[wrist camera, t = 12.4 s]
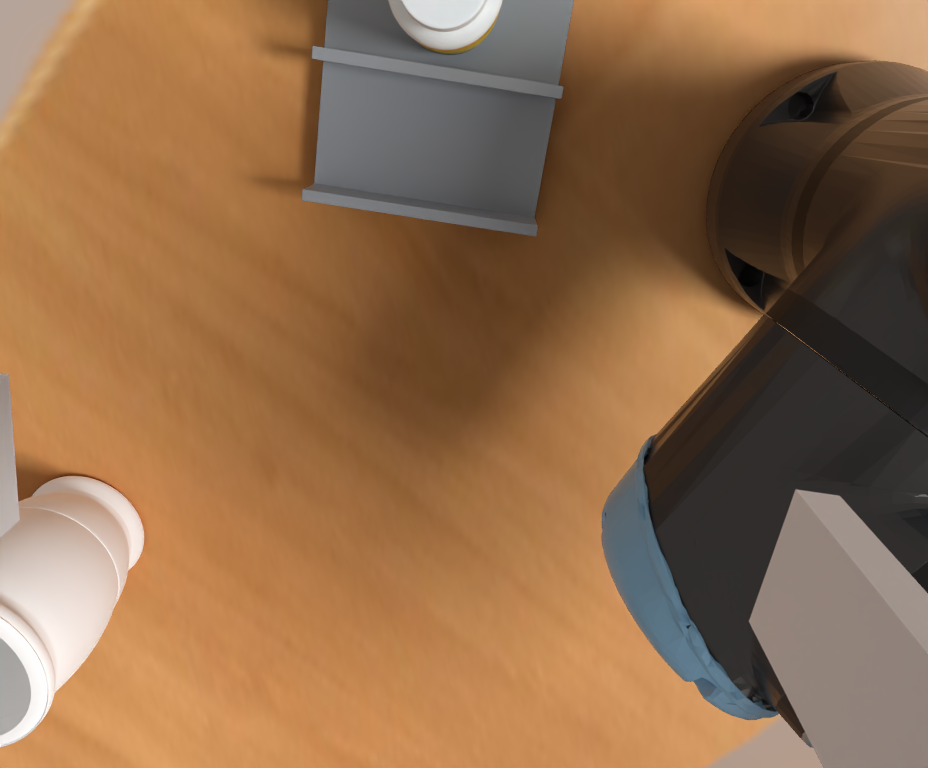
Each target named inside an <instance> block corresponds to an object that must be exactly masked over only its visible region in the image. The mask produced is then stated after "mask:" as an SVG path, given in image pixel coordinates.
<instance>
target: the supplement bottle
mask: <svg viewBox="0 0 928 768" xmlns="http://www.w3.org/2000/svg"><path fill="white" fill-rule="evenodd" d="M388 1H389V5H390V8H391V10H392V13H393V15H394V17H395V19H396V20H397V22H398V23H399V25H400V26H401V27H402V29H403V30H404V31H405V32H406V33H407V34H408V35H409V36H410V37H411V38H413V39H414V40H415V41H417V42H418V43H419V44H420V45H422V46H423V47H425V48H426V49H428V50H431V51H433V52H436V53H439V54H444V55H457V54H462V53H465V52H468V51H470V50H472V49H474V48H475V47H477V46H478V45H480V44H481V43H482V42H483V41H484V40H485V39H486V38H487V36H488V35H489V34H490V32H491V30H492V29H493V27H494V25H495V22H496V20H497V17H498V14H499V11H500V8H501V5H502V2H503V0H388Z"/></svg>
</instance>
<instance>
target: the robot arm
mask: <svg viewBox="0 0 928 768" xmlns="http://www.w3.org/2000/svg"><path fill="white" fill-rule="evenodd" d="M706 221H707V232H708V238H709V243H710V247H711V250H712V253H713V256H714V259H715V261H716V264H717V266H718V268H719V269H720V271H721V273H722V275H723V276H724V278H725V279H726V281H727V282H728V283H729V285H730V286H731V287H732V288H733V289H734V291H735V292H736V293H737V294H738V295H739V296H741V297H742V298H743V299H744V300H745V301H746V302H748V303H749V304H750V305H752V306H753V307H754V308H756V309H757V310H758V311H760V312H761V313H763V314H764V315H763V316H762V317H761V318H760V320H759V321H758V322H757V323H756V324H755V325H754V326H753V328H752V329H751V330H750V331H749V332H748V333H747V334H746V336H745V337H744V338H743V339H742V340H741V341H740V342H739V343H738V345H737V346H736V347H735V348H734V349H733V350H732V351H731V352H730V353H729V355H728V356H727V357H726V358H725V359H724V360H723V361H722V362H721V363H720V365H719V366H718V367H717V368H716V369H715V370H714V371H713V372H712V373H711V375H710V376H709V377H708V378H707V379H706V380H705V381H704V382H703V384H702V385H701V386H700V387H699V388H698V389H697V390H696V391H695V392H694V394H693V395H692V396H691V397H690V398H689V399H688V400H687V401H686V402H685V404H684V405H683V406H682V407H681V408H680V409H679V410H678V411H677V412H676V414H675V415H674V416H673V417H672V418H671V419H670V420H669V421H668V422H667V424H666V425H665V426H664V427H663V428H662V429H661V430H660V431H659V432H658V433H657V434H656V435H654V436H651V437H650V438H649V439H648V440H647V441H646V442H645V443H644V445H643V446H642V448H641V450H640V452H639V455H638V459H637V460H636V462H635V463H634V464H633V465H632V467H631V468H630V469H629V470H628V472H627V473H626V474H625V475H624V477H623V478H622V479H621V480H620V482H619V483H618V484H617V485H616V487H615V488H614V489H613V490H612V492H611V493H610V495H609V497H608V498H607V501H606V503H605V505H604V509H603V512H602V530H603V531H602V546H603V550H604V555H605V559H606V562H607V565H608V568H609V571H610V573H611V576H612V578H613V581H614V583H615V585H616V588H617V590H618V592H619V594H620V596H621V597H622V599H623V601H624V603H625V605H626V606H627V608H628V610H629V612H630V613H631V615H632V616H633V618H634V620H635V621H636V623H637V625H638V626H639V628H640V629H641V630H642V632H643V633H644V635H645V636H646V637H647V639H648V640H649V642H650V643H651V644H652V646H653V647H654V648H655V650H656V651H657V652H658V653H659V654H660V656H661V657H662V658H663V659H664V660H665V662H666V663H667V664H668V665H669V666H670V667H671V668H672V669H673V670H674V671H675V672H676V673H677V674H678V675H679V676H680V677H681V678H682V679H683V680H684V681H686V682H691V681H694V683H695V684H696V686H697V688H698V689H699V691H700V693H701V695H702V696H703V698H704V699H706V700H707V701H708V702H710V703H711V704H712V705H714V706H715V707H717V708H718V709H720V710H722V711H723V712H726V713H728V714H730V715H732V716H735V717H739V718H742V719H745V720H757V719H761V718H770V717H774V716H776V715H778V714H780V715H781V716H782V717H783V718H784V720H785V721H786V722H787V723H788V724H789V725H790V727H791V728H792V729H793V730H794V731H795V732H796V733H797V735H798V736H799V737H800V738H801V739H802V740H803V741H804V742H805V743H806V744H807V745H808V746H809V747H812V748H814V750H815V752H816V754H817V756H818V758H819V760H820V762H821V764H822V766H823V768H928V72H927V71H925V70H922V69H920V68H916V67H913V66H910V65H906V64H901V63H896V62H887V61H864V62H852V63H843V64H837V65H832V66H827V67H824V68H820V69H817V70H814V71H811V72H808V73H806V74H804V75H802V76H799V77H797V78H795V79H793V80H791V81H790V82H788V83H786V84H784V85H783V86H781V87H780V88H778V89H777V90H775V91H774V92H772V93H771V94H770V95H768V96H767V97H766V98H765V99H764V100H762V101H761V102H760V103H759V104H758V105H757V106H756V107H755V108H754V109H753V110H752V111H751V112H750V113H749V114H748V115H747V116H746V117H745V118H744V120H743V121H742V122H741V123H740V124H739V126H738V127H737V128H736V130H735V131H734V133H733V134H732V136H731V137H730V139H729V140H728V142H727V144H726V146H725V147H724V149H723V151H722V153H721V155H720V157H719V160H718V162H717V165H716V167H715V170H714V173H713V176H712V179H711V183H710V188H709V193H708V199H707V211H706ZM776 322H777V323H776ZM779 324H780V325H781V326H780V325H779ZM782 326H783V327H784V328H786V329H787V330H788V331H790V332H791V333H792V334H794V335H795V336H796V337H798V338H799V339H800V340H802V341H803V342H804V343H806V344H807V345H808V346H809V347H808V346H807V345H806V344H804V343H803V342H802V341H800V340H799V339H798V338H796V337H795V336H794V335H792V334H791V333H790V332H788V331H787V330H786V329H784V328H783V327H782ZM810 347H811V348H812V349H813V350H812V349H811V348H810ZM814 350H815V351H816V352H817V353H816V352H815V351H814ZM818 353H819V354H820V355H821V356H820V355H819V354H818ZM822 356H823V357H824V358H825V359H824V358H823V357H822ZM827 360H828V361H829V362H828V361H827ZM832 364H833V365H832ZM836 367H837V368H836ZM840 370H841V371H840ZM844 373H845V374H844ZM848 376H849V377H848ZM852 379H853V380H852ZM856 382H857V383H856ZM860 385H861V386H860ZM863 387H864V388H865V389H864V388H863ZM868 391H869V392H868ZM872 394H873V395H872ZM876 397H877V398H876ZM880 400H881V401H880ZM884 403H885V404H884ZM888 406H889V407H888ZM892 409H893V410H892ZM897 413H898V414H897ZM901 416H902V417H901ZM905 419H906V420H905ZM909 422H910V423H909ZM913 425H914V426H913ZM19 520H20V517H19V504H18V490H17V477H16V463H15V450H14V436H13V423H12V409H11V396H10V382H9V375H8V374H1V373H0V538H1V537H2V536H3V535H4V534H5V533H6V532H7V531H8V530H10V529H11V528H12V527H13V526H14V525H15V524H16V523H17V522H18V521H19Z"/></svg>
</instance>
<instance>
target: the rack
mask: <svg viewBox="0 0 928 768" xmlns="http://www.w3.org/2000/svg"><path fill="white" fill-rule="evenodd" d="M573 3H574V0H503V2H502V5H501V8H500V11H499V14H498V17H497V20H496V22H495V25H494V27H493V29H492V30H491V32H490V34H489V35H488V36H487V38H486V39H485V40H484V41H483V42H482V43H481V44H480V45H478V46H477V47H475V48H474V49H472V50H470V51H468V52H465V53H462V54H457V55H444V54H439V53H436V52H433V51H431V50H428V49H426V48H425V47H423V46H422V45H420V44H419V43H418V42H417V41H415V40H414V39H413V38H411V37H410V36H409V35H408V34H407V33H406V32H405V31H404V30H403V29H402V27H401V26H400V25H399V23H398V22H397V20H396V19H395V17H394V15H393V13H392V10H391V8H390V5H389V1H388V0H328V6H327V19H326V33H325V46H324V48H323V47H317V46H313V49H312V59H316V60H321V61H323V72H322V86H321V99H320V112H319V126H318V139H317V152H316V165H315V179H314V184H312V185H310V186H308V187H306V188H304V189H303V192H302V200H303V201H309V202H316V203H322V204H329V205H335V206H342V207H348V208H354V209H361V210H367V211H374V212H380V213H387V214H393V215H400V216H406V217H413V218H419V219H425V220H432V221H438V222H445V223H451V224H458V225H464V226H471V227H477V228H484V229H490V230H496V231H503V232H509V233H516V234H522V235H529V236H535V237H536V234H537V229H538V225H537V222H536V220H535V218H534V217H535V212H536V206H537V201H538V195H539V190H540V184H541V179H542V173H543V168H544V162H545V157H546V151H547V146H548V140H549V135H550V129H551V124H552V118H553V113H554V107H555V102H556V99H562V93H563V88H564V86H558V85H559V80H560V74H561V69H562V63H563V58H564V52H565V47H566V41H567V36H568V30H569V25H570V19H571V14H572V8H573Z"/></svg>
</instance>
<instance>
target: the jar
mask: <svg viewBox="0 0 928 768" xmlns="http://www.w3.org/2000/svg"><path fill="white" fill-rule="evenodd" d="M18 504H19V517H20V520H19V521H18V522H17V523H16V524H15V525H14V526H13V527H12V528H11V529H10V530H8V531H7V532H6V533H5V534H4V535H3V536H2V537H1V538H0V747H3V746H7V745H10V744H12V743H15V742H17V741H19V740H20V739H22V738H24V737H25V736H27V735H28V734H29V733H30V732H32V731H33V730H34V729H35V728H36V726H37V725H38V724H39V723H40V722H41V721H42V720H43V718H44V717H45V715H46V714H47V712H48V710H49V709H50V706H51V704H52V701H53V698H54V694H55V692H56V691H57V690H58V689H59V688H60V687H61V686H62V685H63V684H64V683H65V682H66V681H67V680H68V679H69V678H70V677H71V676H72V675H73V674H74V673H75V672H76V670H77V669H78V668H79V667H80V666H81V665H82V663H83V662H84V661H85V660H86V658H87V657H88V656H89V654H90V653H91V651H92V650H93V649H94V647H95V646H96V644H97V642H98V641H99V639H100V637H101V636H102V634H103V632H104V630H105V628H106V626H107V624H108V622H109V620H110V617H111V615H112V612H113V609H114V607H115V605H116V603H117V601H118V599H119V597H120V595H121V593H122V590H123V588H124V585H125V582H126V578H127V574H128V570H129V569H131V568H132V567H133V566H134V564H135V563H136V562H137V561H138V559H139V557H140V555H141V553H142V550H143V546H144V530H143V526H142V522H141V519H140V517H139V515H138V513H137V511H136V510H135V508H134V507H133V506H132V504H131V503H130V502H129V501H128V500H127V499H126V498H125V497H124V496H123V495H122V494H121V493H120V492H118V491H117V490H116V489H114V488H113V487H111V486H109V485H107V484H105V483H103V482H101V481H99V480H96V479H92V478H88V477H82V476H65V477H60V478H56V479H53V480H51V481H48V482H47V483H45V484H43V485H42V486H41V487H39V488H38V489H37V490H36V491H35V492H34V494H33V495H32V496H31V497H30V498H27V499H24V500H21V501H19V502H18Z"/></svg>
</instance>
